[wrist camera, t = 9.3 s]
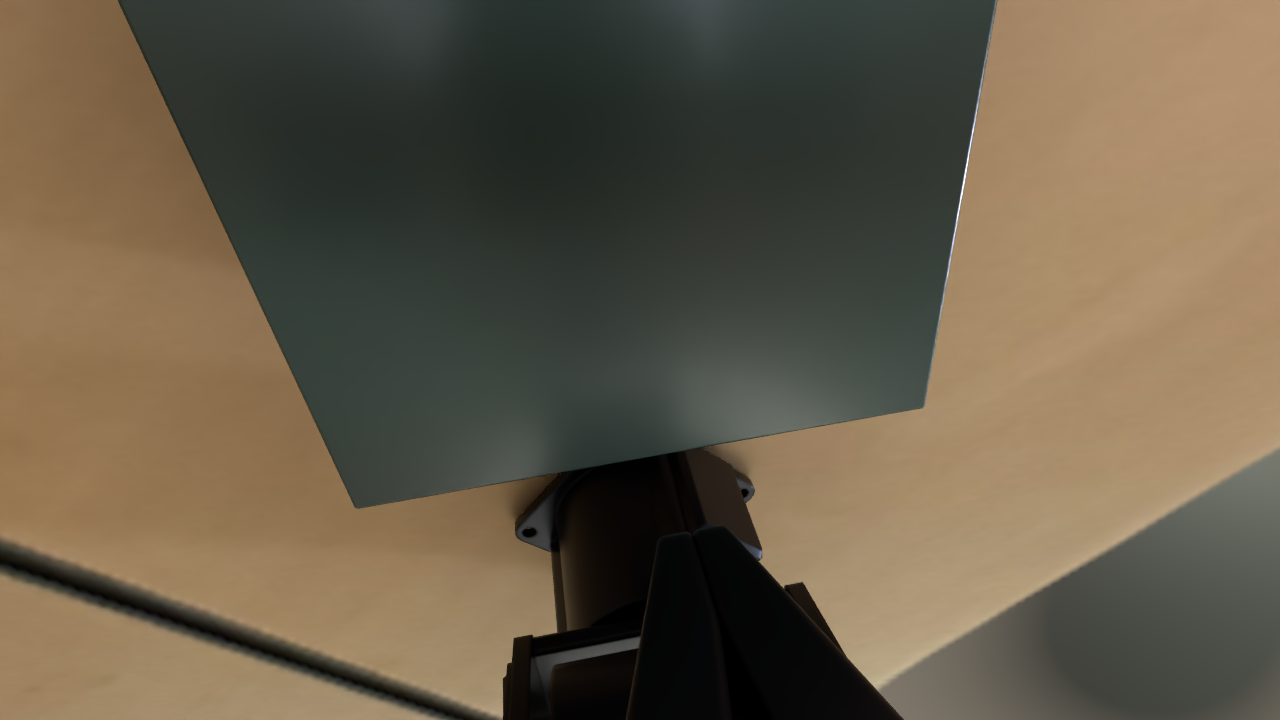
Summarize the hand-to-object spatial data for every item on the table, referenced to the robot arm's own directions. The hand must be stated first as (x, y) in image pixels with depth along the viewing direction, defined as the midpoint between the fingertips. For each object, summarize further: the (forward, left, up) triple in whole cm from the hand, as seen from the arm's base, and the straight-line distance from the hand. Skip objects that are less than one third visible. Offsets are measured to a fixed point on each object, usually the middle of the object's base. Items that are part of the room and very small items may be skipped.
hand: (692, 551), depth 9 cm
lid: (+3, +3, -6) cm, 7 cm away
